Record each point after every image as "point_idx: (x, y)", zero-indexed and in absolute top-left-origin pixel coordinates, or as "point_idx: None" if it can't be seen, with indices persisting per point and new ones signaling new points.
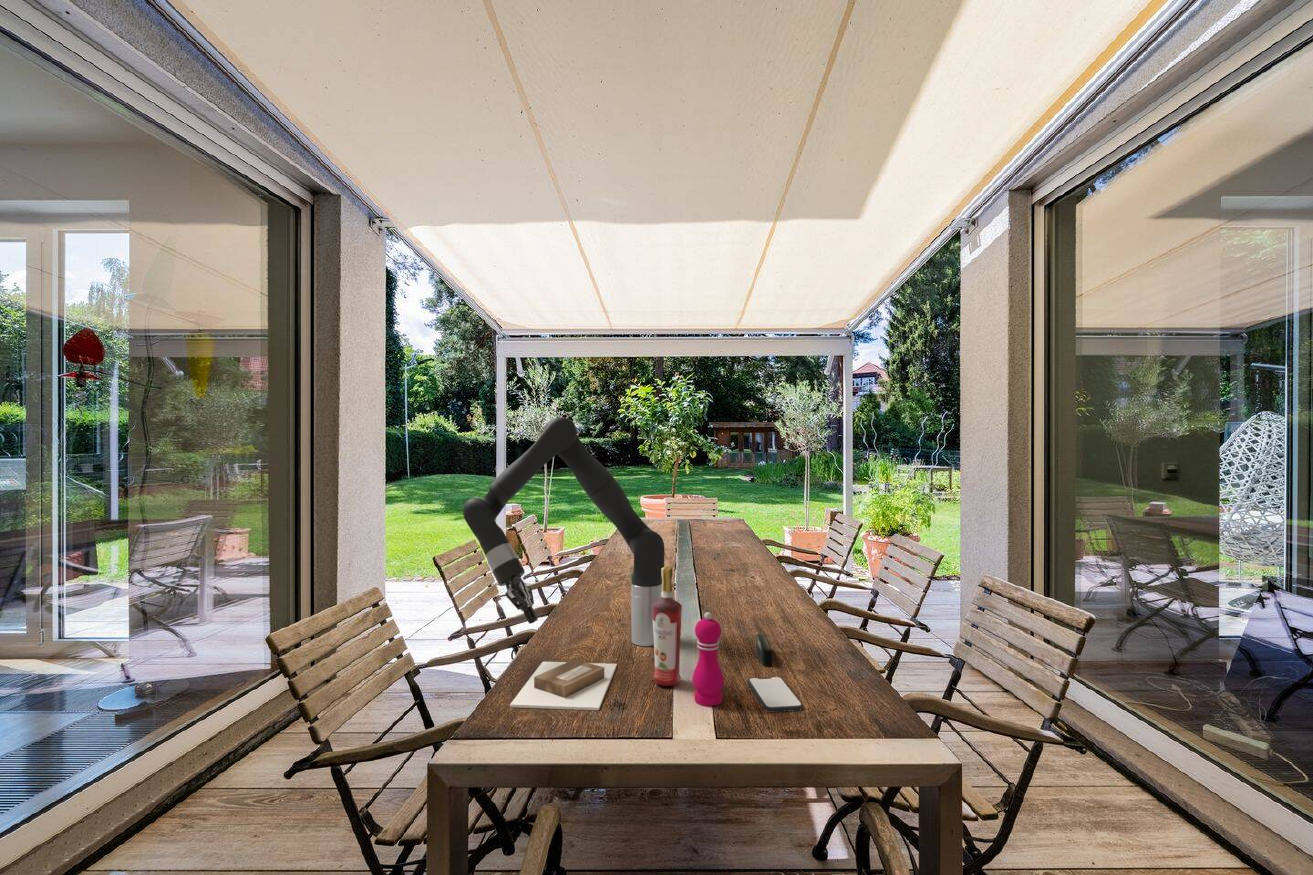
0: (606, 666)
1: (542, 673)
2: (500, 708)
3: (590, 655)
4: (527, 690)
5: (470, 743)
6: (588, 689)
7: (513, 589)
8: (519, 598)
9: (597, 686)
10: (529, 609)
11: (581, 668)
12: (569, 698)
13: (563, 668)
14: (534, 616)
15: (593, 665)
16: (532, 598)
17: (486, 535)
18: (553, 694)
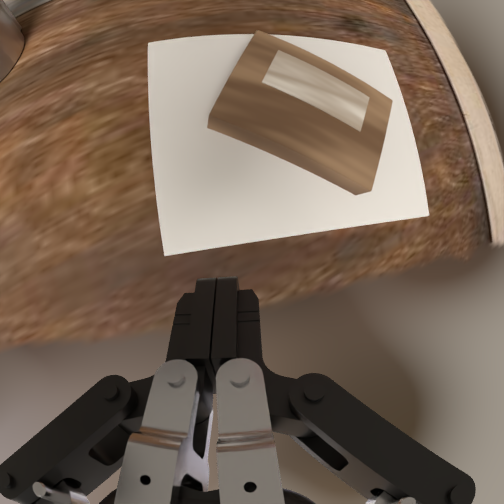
0: (170, 57)
1: (346, 175)
2: (431, 233)
3: (73, 138)
4: (372, 206)
5: (495, 223)
6: None
7: (467, 500)
8: (401, 431)
9: None
10: (239, 353)
11: (283, 76)
12: None
13: (295, 125)
14: (235, 292)
15: (249, 53)
16: (76, 417)
17: None
18: None
